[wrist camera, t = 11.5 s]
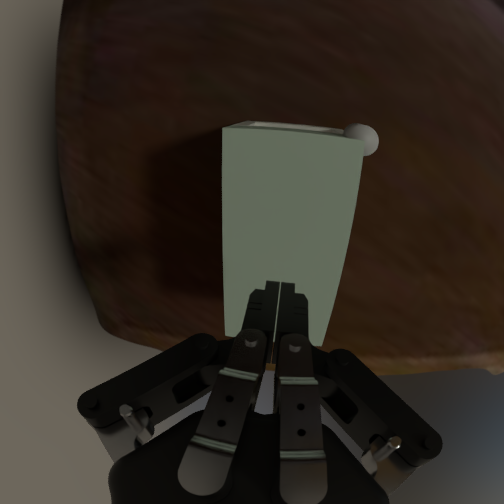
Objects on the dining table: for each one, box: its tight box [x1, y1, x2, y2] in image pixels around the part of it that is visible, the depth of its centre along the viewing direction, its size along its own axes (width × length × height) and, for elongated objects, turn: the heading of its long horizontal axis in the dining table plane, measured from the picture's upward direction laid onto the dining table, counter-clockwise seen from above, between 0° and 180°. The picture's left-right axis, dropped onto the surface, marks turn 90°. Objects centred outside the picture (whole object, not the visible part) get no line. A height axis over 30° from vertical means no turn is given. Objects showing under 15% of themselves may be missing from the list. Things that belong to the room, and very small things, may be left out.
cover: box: [222, 123, 379, 346], centre depth 19 cm, size 17×9×2 cm, turn 178°
